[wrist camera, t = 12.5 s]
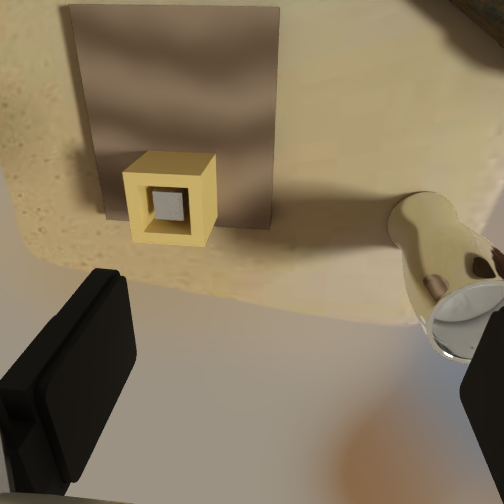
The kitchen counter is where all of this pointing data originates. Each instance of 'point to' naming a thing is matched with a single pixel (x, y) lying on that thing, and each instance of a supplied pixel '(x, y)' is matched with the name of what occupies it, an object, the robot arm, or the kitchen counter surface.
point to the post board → (183, 99)
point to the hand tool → (485, 15)
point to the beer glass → (447, 273)
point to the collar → (172, 175)
